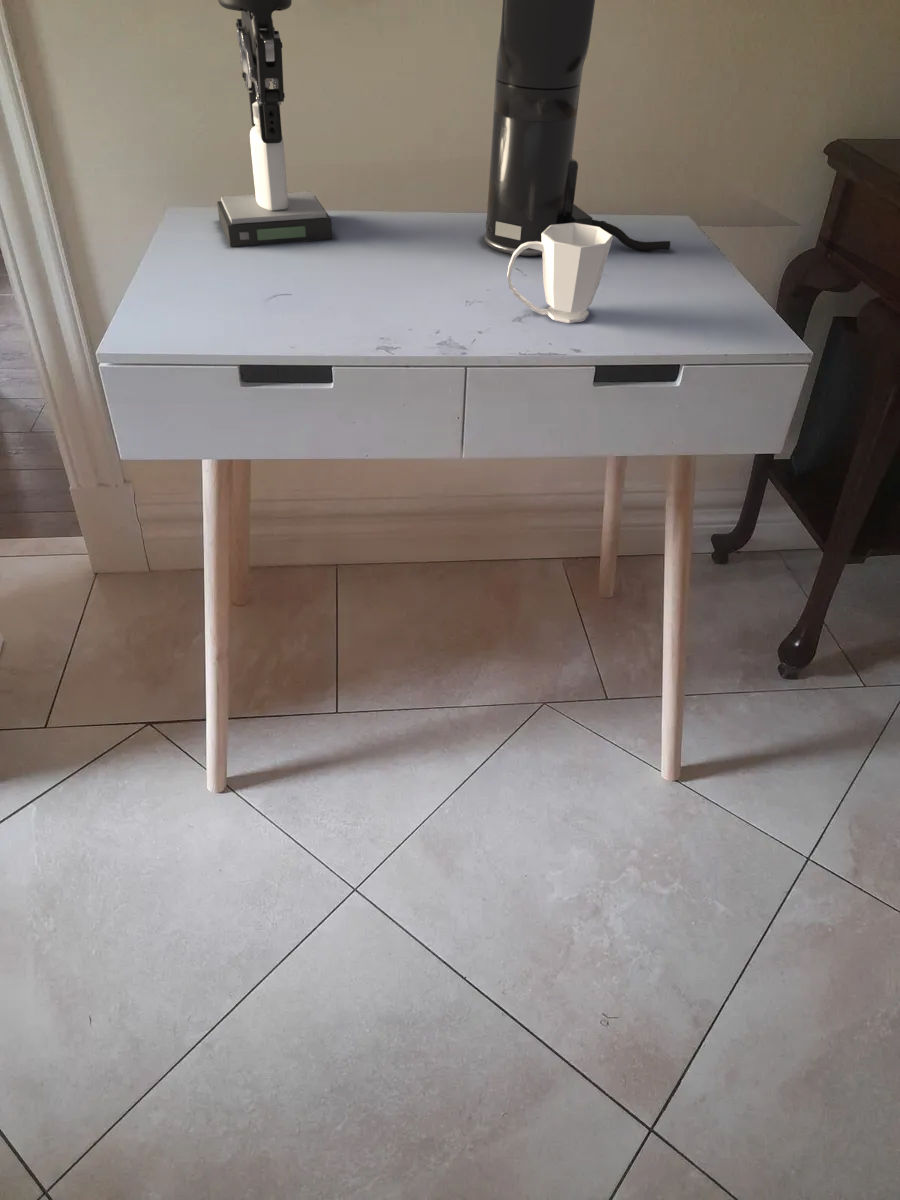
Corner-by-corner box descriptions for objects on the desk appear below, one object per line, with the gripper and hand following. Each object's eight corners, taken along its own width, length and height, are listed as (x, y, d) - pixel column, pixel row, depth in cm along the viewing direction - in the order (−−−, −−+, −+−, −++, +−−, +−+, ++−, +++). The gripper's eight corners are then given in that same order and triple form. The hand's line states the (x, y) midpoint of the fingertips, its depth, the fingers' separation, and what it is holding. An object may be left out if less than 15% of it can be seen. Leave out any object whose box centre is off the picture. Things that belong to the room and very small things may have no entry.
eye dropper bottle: (294, 198, 107) (286, 85, 99) (286, 212, 103) (277, 96, 95) (258, 196, 107) (247, 83, 99) (249, 211, 103) (236, 94, 95)
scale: (315, 215, 112) (314, 190, 110) (332, 240, 105) (331, 213, 103) (219, 221, 109) (216, 195, 107) (230, 247, 102) (227, 221, 100)
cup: (605, 330, 89) (618, 248, 84) (505, 326, 89) (512, 243, 83) (597, 302, 94) (608, 223, 89) (503, 298, 94) (509, 219, 89)
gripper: (302, -40, 85) (313, 151, 96) (274, -56, 95) (287, 119, 106) (223, -41, 83) (243, 154, 94) (203, -57, 93) (224, 121, 104)
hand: (266, 134), depth 100 cm, fingers closed on eye dropper bottle, 5 cm apart
